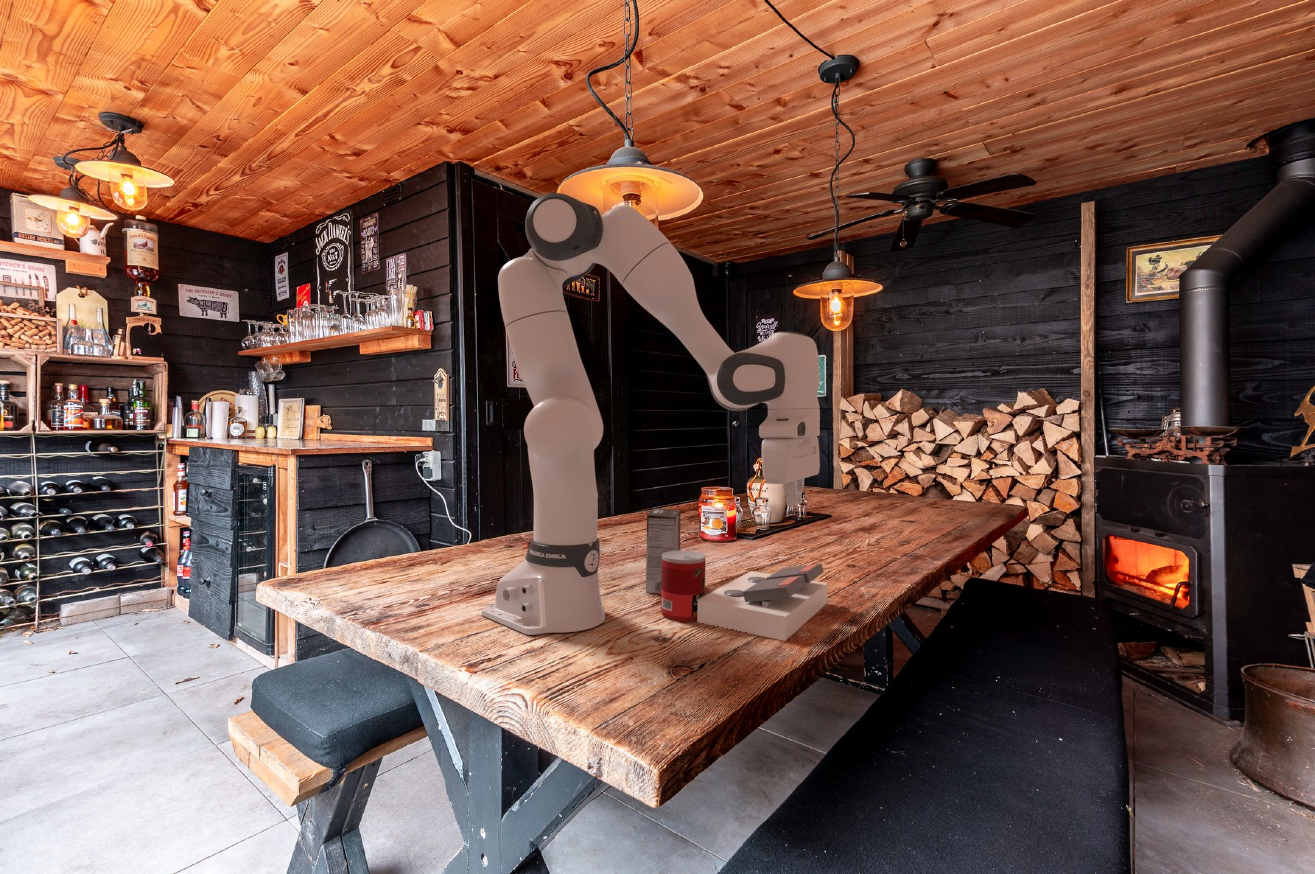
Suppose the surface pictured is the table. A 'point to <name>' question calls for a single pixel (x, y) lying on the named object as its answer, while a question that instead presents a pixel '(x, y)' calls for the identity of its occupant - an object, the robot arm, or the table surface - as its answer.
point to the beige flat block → (761, 608)
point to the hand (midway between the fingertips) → (793, 505)
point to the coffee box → (660, 543)
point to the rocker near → (774, 589)
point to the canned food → (682, 584)
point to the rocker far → (799, 572)
